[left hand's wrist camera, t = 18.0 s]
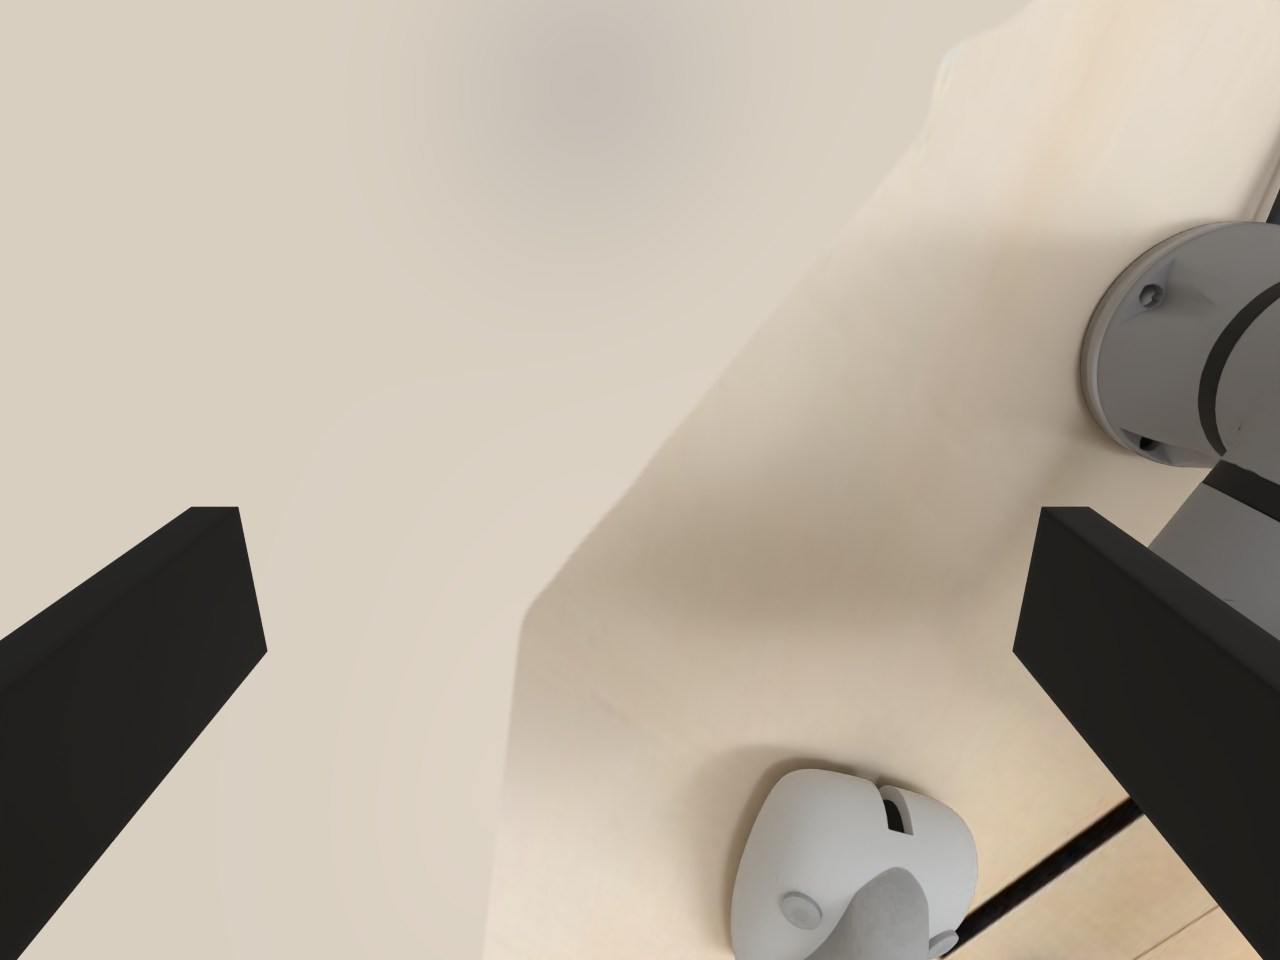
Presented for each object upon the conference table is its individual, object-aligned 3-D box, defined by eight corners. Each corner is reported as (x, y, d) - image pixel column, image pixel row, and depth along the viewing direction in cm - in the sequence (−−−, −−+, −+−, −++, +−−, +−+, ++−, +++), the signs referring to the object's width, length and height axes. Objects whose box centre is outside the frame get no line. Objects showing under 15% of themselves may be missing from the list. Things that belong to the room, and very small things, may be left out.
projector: (640, 812, 63) (638, 985, 49) (896, 695, 59) (973, 848, 45) (763, 976, 69) (792, 1169, 56) (1001, 882, 65) (1096, 1065, 51)
